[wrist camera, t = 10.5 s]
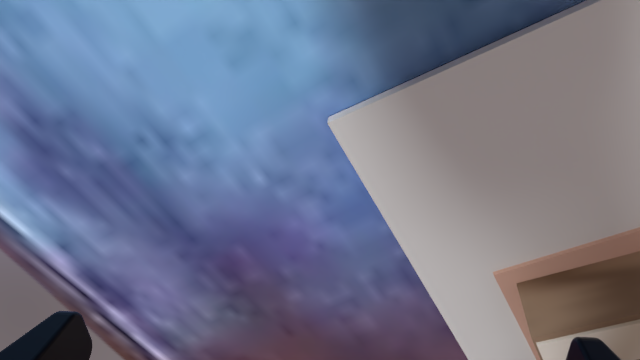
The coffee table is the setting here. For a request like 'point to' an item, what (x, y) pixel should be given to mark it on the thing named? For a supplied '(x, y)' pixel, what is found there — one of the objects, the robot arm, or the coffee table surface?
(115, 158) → the coffee table surface
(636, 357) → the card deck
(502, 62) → the mat
